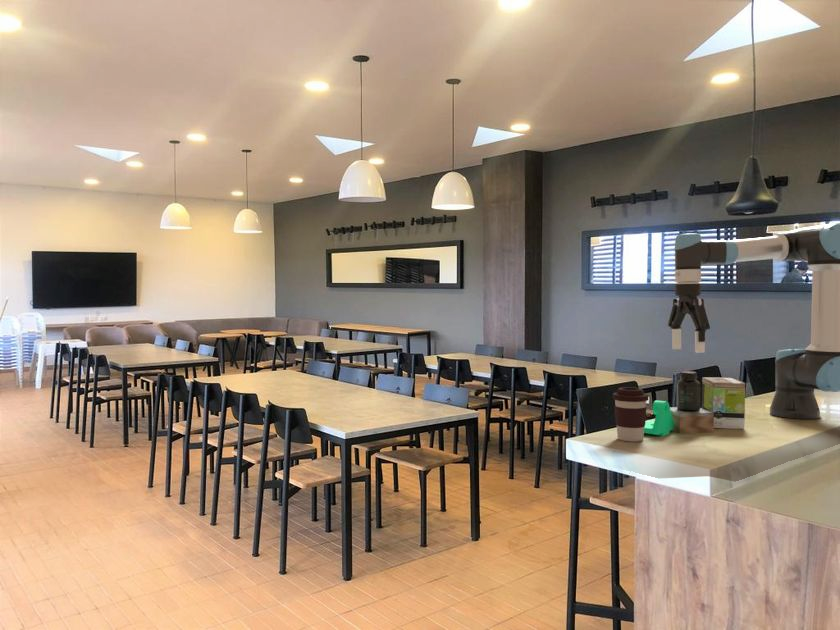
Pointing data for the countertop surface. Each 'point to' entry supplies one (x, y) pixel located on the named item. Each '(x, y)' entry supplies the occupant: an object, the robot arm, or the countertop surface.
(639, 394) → the coffee cup
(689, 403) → the supplement bottle
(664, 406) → the camera mount
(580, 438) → the countertop surface
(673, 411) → the walnut stand
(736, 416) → the tea box
